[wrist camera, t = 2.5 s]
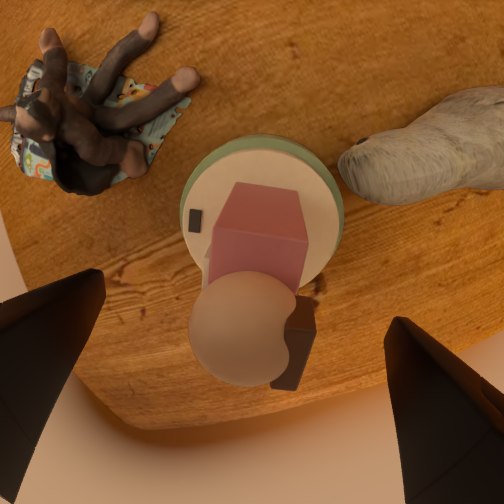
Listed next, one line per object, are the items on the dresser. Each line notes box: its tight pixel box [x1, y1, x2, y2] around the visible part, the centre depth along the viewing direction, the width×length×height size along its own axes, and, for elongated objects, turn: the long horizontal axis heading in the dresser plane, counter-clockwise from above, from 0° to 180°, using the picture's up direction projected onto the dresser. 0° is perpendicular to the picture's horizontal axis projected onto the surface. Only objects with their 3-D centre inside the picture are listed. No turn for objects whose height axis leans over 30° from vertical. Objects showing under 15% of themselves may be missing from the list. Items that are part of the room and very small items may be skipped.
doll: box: [183, 147, 339, 391], centre depth 12 cm, size 8×8×10 cm
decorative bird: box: [338, 86, 504, 206], centre depth 12 cm, size 5×16×8 cm, turn 112°
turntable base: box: [180, 134, 344, 262], centre depth 18 cm, size 9×9×2 cm
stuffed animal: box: [0, 12, 200, 196], centre depth 16 cm, size 12×10×12 cm
